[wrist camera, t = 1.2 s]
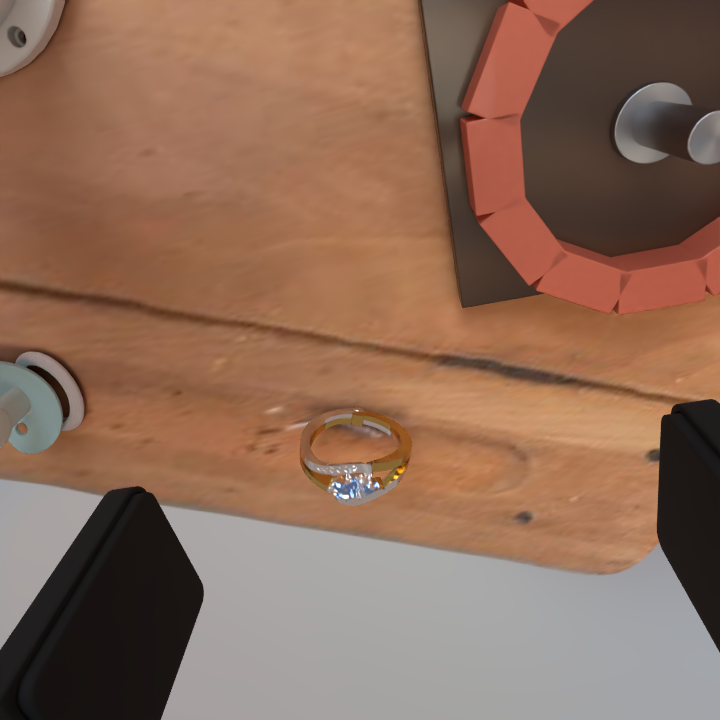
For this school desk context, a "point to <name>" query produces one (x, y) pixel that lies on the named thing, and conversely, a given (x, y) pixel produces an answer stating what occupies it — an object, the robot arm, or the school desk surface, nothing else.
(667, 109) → the steel post
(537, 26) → the ring
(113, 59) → the school desk surface
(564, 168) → the board
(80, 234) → the school desk surface
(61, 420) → the pacifier
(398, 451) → the ring
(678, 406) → the robot arm
